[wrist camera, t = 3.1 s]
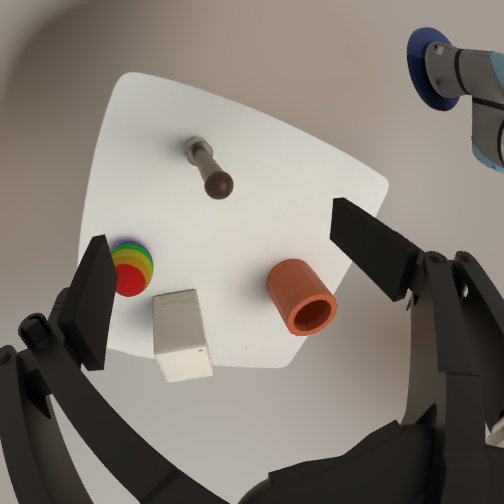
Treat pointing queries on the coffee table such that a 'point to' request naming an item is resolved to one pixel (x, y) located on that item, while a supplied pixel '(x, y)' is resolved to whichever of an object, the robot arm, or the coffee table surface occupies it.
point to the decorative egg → (132, 268)
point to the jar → (301, 297)
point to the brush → (209, 168)
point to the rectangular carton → (180, 337)
